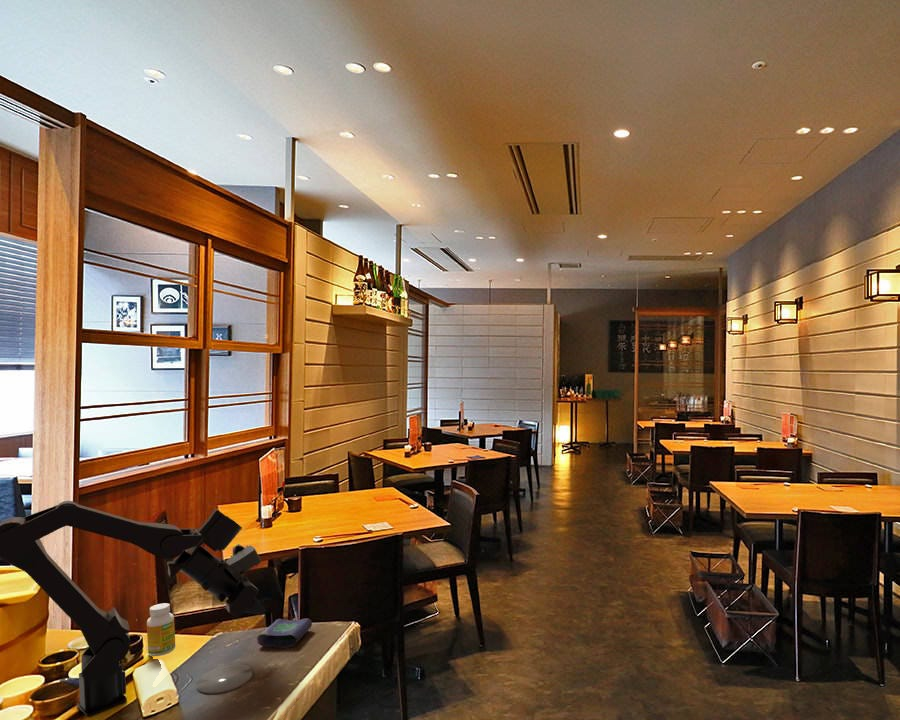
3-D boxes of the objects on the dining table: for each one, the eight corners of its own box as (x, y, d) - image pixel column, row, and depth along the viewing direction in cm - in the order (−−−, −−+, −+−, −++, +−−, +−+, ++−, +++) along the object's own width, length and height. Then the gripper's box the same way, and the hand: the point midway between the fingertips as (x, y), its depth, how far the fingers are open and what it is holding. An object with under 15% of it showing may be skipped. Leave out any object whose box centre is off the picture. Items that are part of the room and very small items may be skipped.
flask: (256, 634, 127) (278, 615, 137) (256, 648, 127) (279, 628, 137) (296, 634, 125) (315, 615, 136) (297, 648, 125) (316, 628, 136)
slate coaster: (211, 699, 106) (211, 696, 106) (187, 683, 113) (187, 680, 113) (262, 676, 113) (261, 673, 114) (236, 662, 120) (236, 659, 120)
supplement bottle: (164, 657, 125) (162, 611, 126) (142, 656, 126) (140, 611, 127) (180, 646, 131) (178, 601, 131) (159, 645, 132) (157, 601, 132)
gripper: (246, 544, 114) (303, 589, 119) (225, 528, 130) (277, 569, 135) (203, 595, 109) (266, 640, 115) (188, 572, 125) (243, 612, 130)
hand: (264, 612), depth 124 cm, fingers closed
